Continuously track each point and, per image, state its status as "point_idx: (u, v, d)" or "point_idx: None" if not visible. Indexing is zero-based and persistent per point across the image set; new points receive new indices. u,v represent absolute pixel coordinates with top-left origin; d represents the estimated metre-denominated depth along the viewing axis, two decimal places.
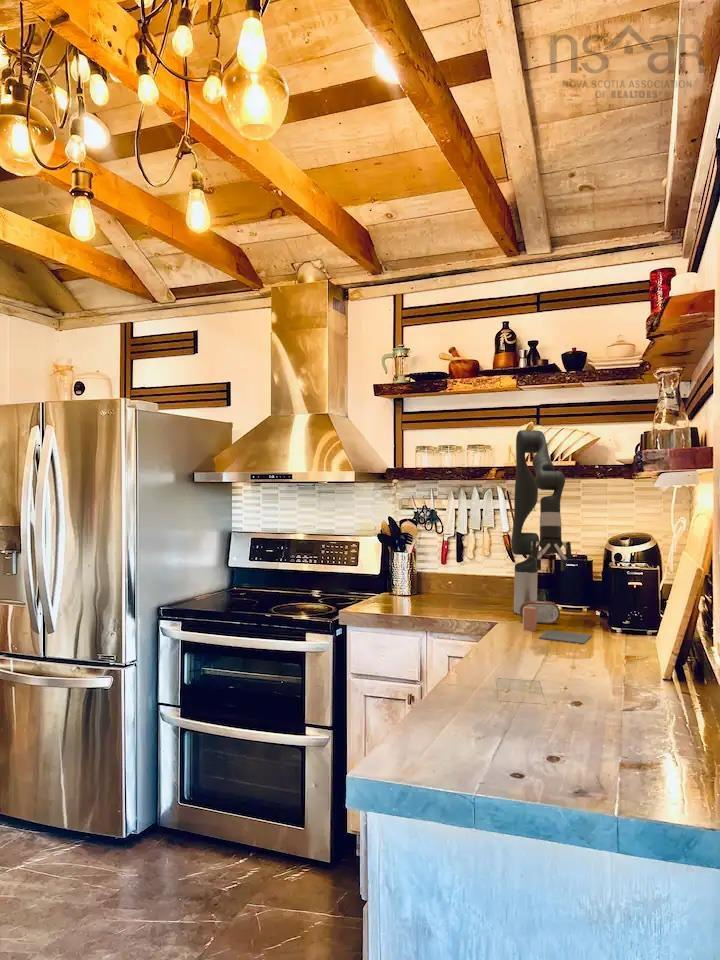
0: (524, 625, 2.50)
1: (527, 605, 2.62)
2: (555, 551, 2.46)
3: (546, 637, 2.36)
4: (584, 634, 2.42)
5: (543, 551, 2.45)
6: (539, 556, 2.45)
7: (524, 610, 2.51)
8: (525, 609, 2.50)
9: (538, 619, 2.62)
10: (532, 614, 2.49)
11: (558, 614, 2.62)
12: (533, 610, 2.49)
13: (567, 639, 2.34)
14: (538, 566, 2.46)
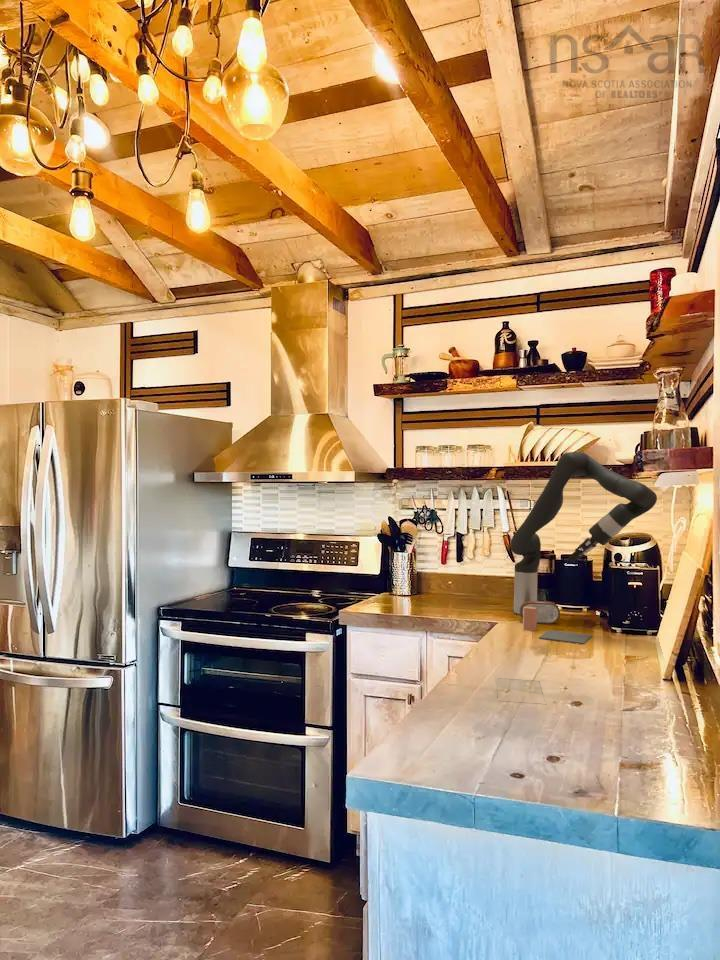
0: (524, 625, 2.50)
1: (527, 605, 2.62)
2: None
3: (546, 637, 2.36)
4: (584, 634, 2.42)
5: (587, 551, 2.38)
6: (581, 554, 2.38)
7: (524, 610, 2.51)
8: (525, 609, 2.50)
9: (538, 619, 2.62)
10: (532, 614, 2.49)
11: (558, 614, 2.62)
12: (533, 610, 2.49)
13: (567, 639, 2.34)
14: (573, 560, 2.39)
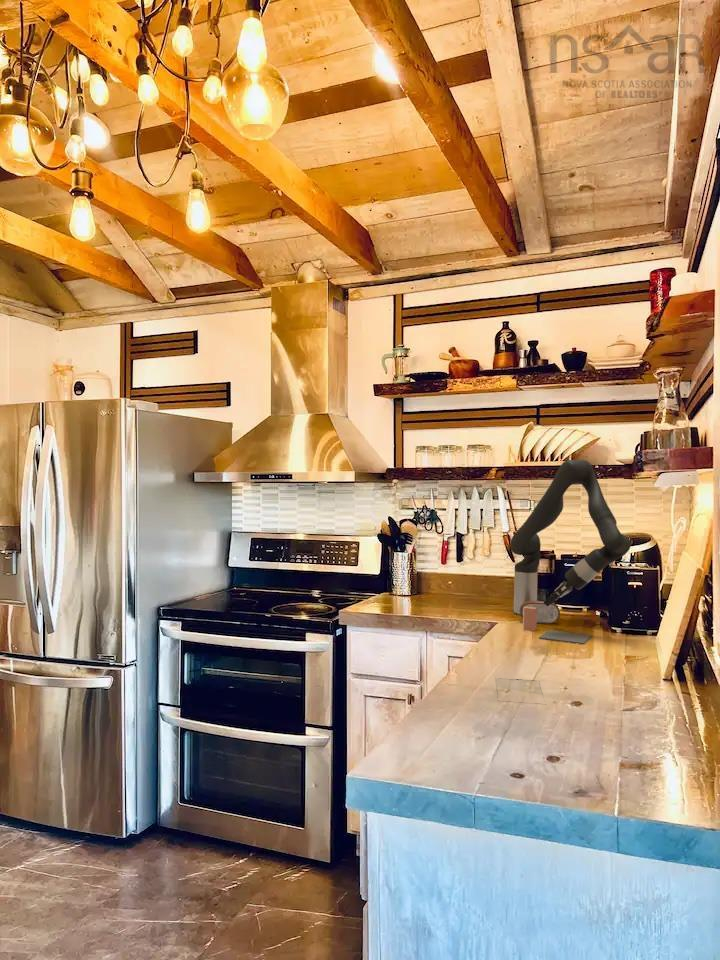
0: (524, 625, 2.50)
1: (527, 605, 2.62)
2: (565, 592, 2.47)
3: (546, 637, 2.36)
4: (584, 634, 2.42)
5: (563, 595, 2.42)
6: (557, 598, 2.42)
7: (524, 610, 2.51)
8: (525, 609, 2.50)
9: (538, 619, 2.62)
10: (532, 614, 2.49)
11: (558, 614, 2.62)
12: (533, 610, 2.49)
13: (567, 639, 2.34)
14: (549, 603, 2.43)
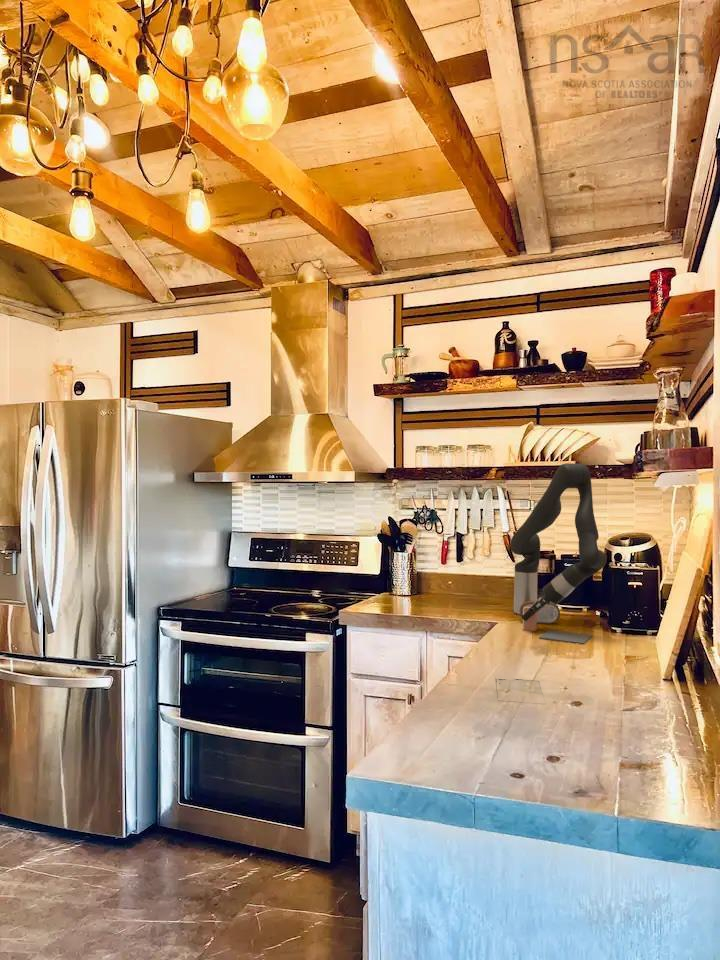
0: (524, 625, 2.50)
1: (527, 605, 2.62)
2: None
3: (546, 637, 2.36)
4: (584, 634, 2.42)
5: (540, 610, 2.47)
6: None
7: (524, 610, 2.51)
8: (525, 609, 2.50)
9: (538, 619, 2.62)
10: None
11: (558, 614, 2.62)
12: (533, 610, 2.49)
13: (567, 639, 2.34)
14: (527, 618, 2.49)
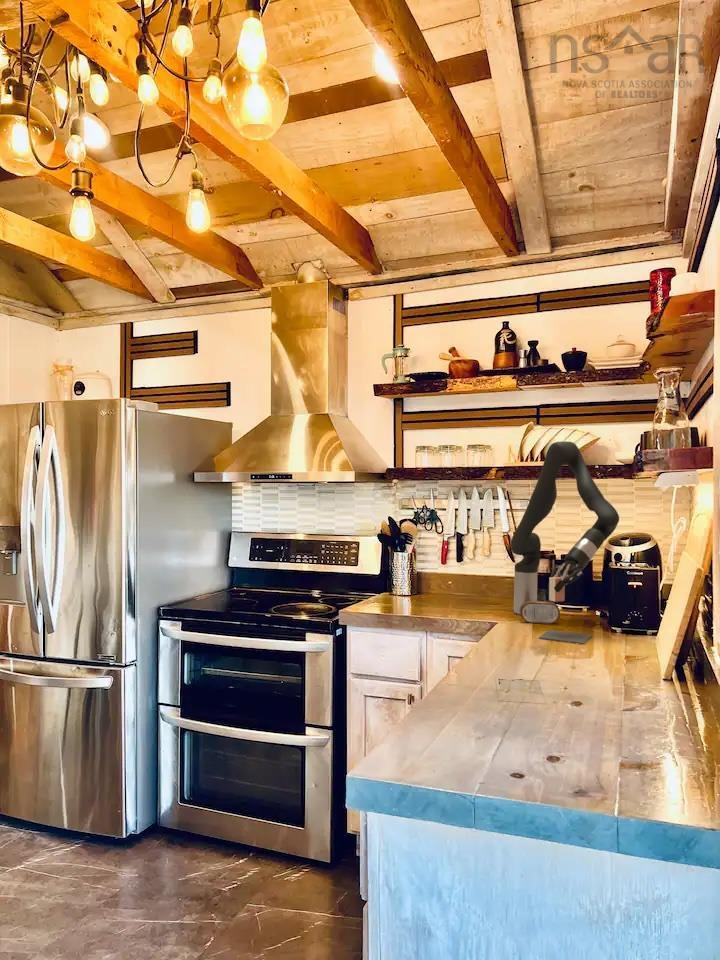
0: (555, 597, 2.38)
1: (527, 605, 2.62)
2: None
3: (546, 637, 2.36)
4: (584, 634, 2.42)
5: None
6: None
7: (555, 581, 2.38)
8: (556, 580, 2.38)
9: (538, 619, 2.62)
10: None
11: (558, 614, 2.62)
12: None
13: (567, 639, 2.34)
14: None
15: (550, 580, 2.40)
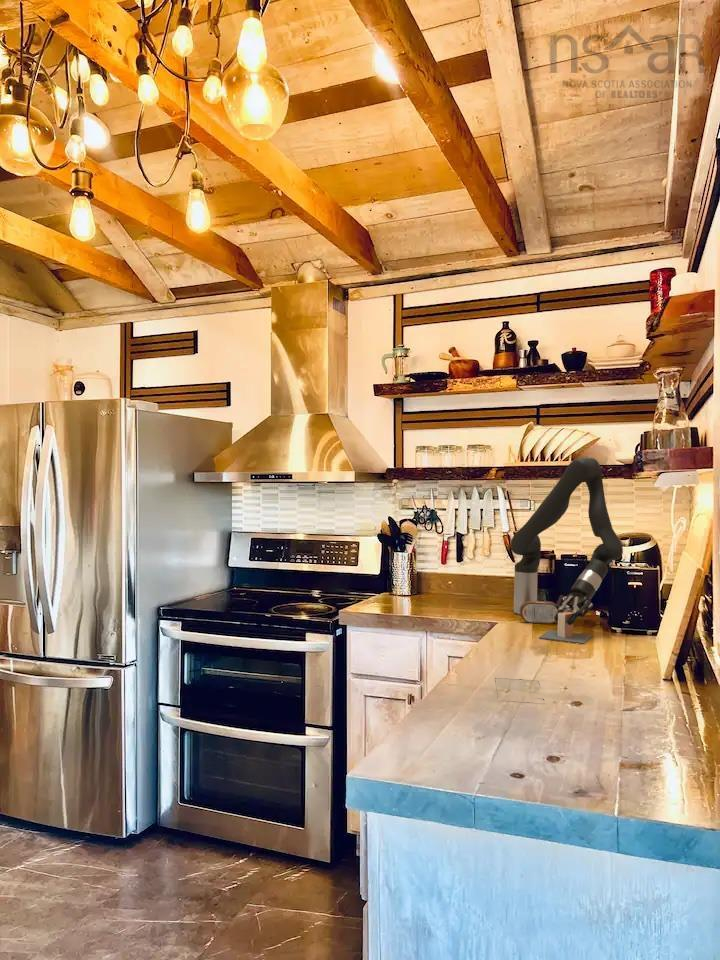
0: (565, 633, 2.37)
1: (527, 605, 2.62)
2: None
3: (546, 637, 2.36)
4: (584, 634, 2.42)
5: None
6: None
7: (565, 617, 2.37)
8: (565, 616, 2.37)
9: (538, 619, 2.62)
10: None
11: None
12: None
13: (567, 639, 2.34)
14: None
15: (559, 616, 2.39)
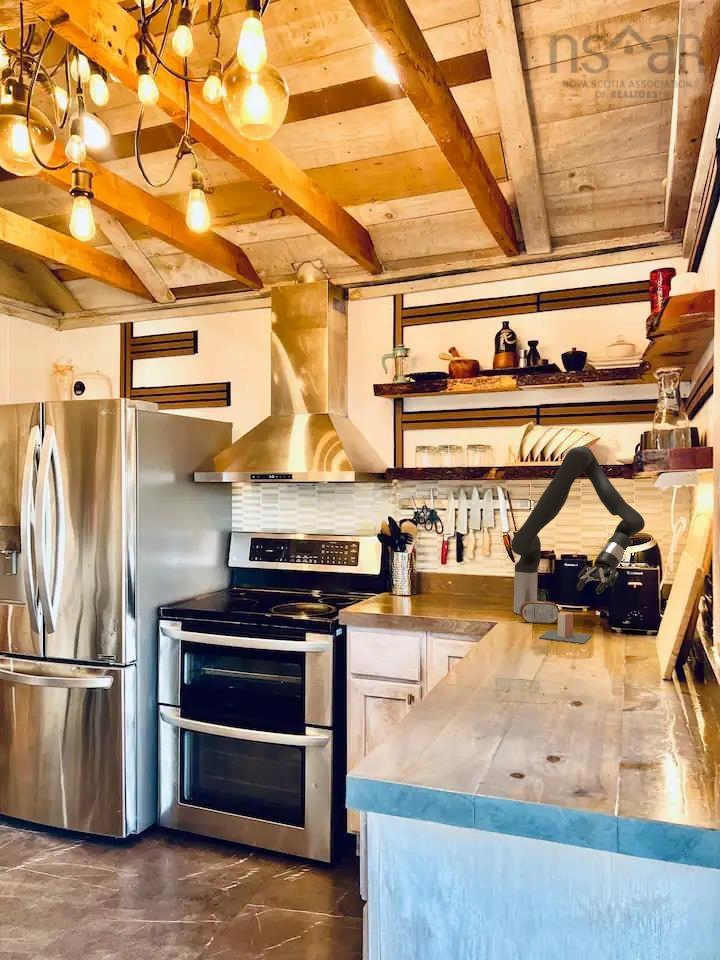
0: (565, 633, 2.37)
1: (527, 605, 2.62)
2: None
3: (546, 637, 2.36)
4: (584, 634, 2.42)
5: None
6: None
7: (565, 617, 2.37)
8: (565, 616, 2.37)
9: (538, 619, 2.62)
10: (571, 619, 2.38)
11: None
12: (572, 615, 2.38)
13: (567, 639, 2.34)
14: None
15: (559, 616, 2.39)
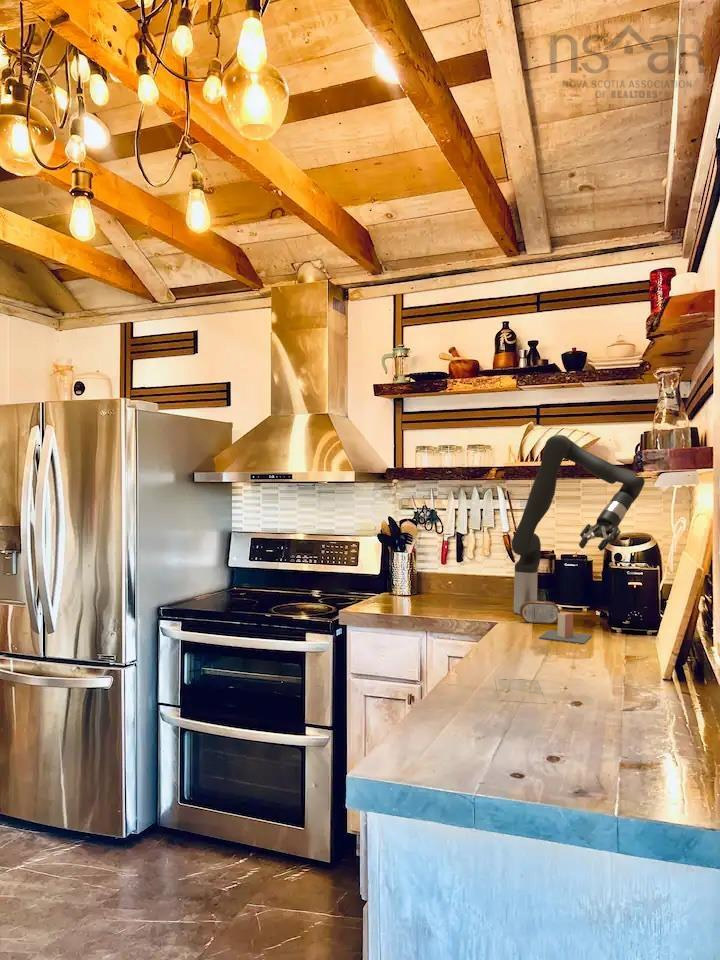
0: (565, 633, 2.37)
1: (527, 605, 2.62)
2: None
3: (546, 637, 2.36)
4: (584, 634, 2.42)
5: None
6: None
7: (565, 617, 2.37)
8: (565, 616, 2.37)
9: (538, 619, 2.62)
10: (571, 619, 2.38)
11: None
12: (572, 615, 2.38)
13: (567, 639, 2.34)
14: None
15: (559, 616, 2.39)
